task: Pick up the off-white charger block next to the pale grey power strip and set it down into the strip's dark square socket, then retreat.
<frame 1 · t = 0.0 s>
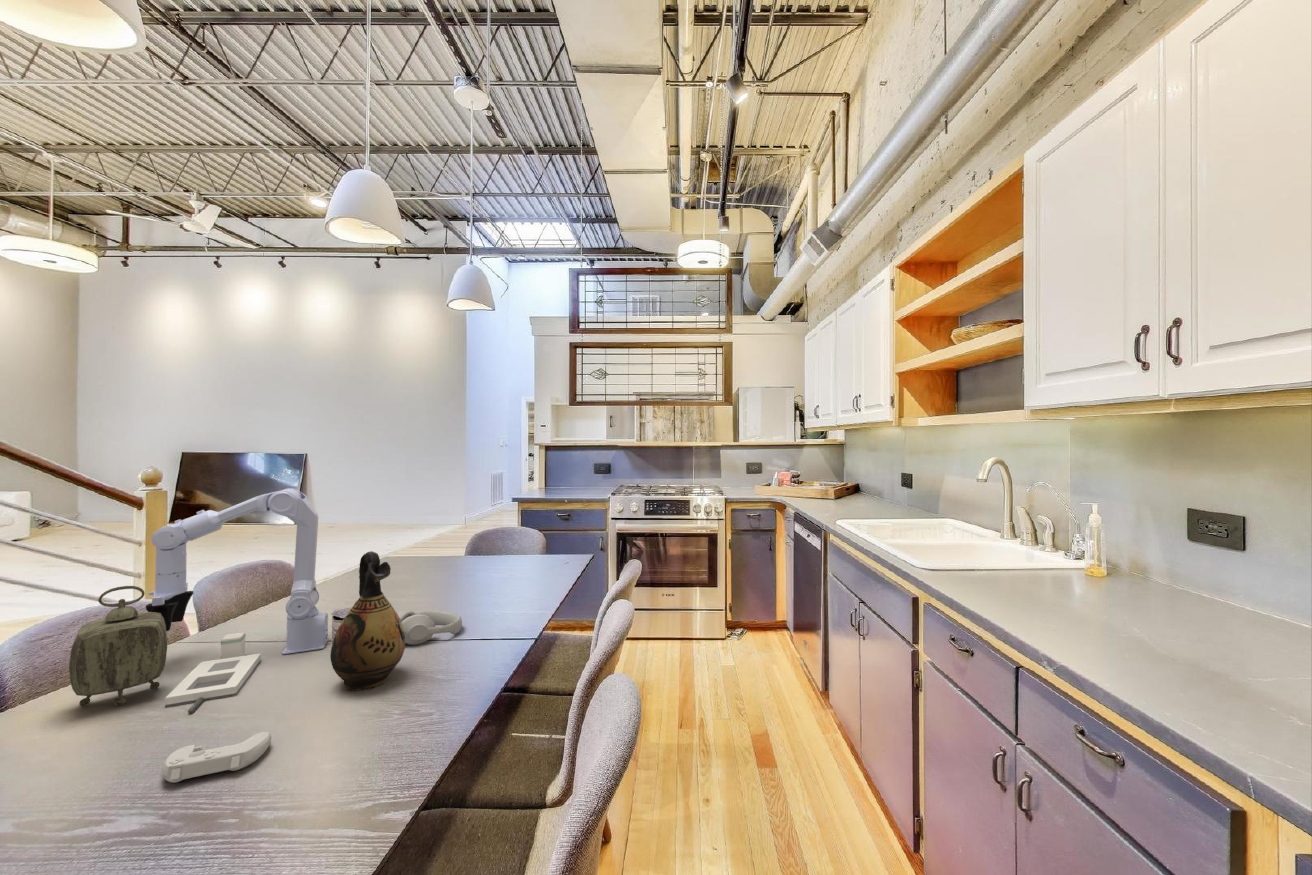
hand: (170, 626, 128), 10 cm above the table, fingers open, 7 cm apart
headphones: (425, 635, 150), on the table
charger block: (233, 658, 133), on the table
ceramic jug: (367, 680, 121), on the table
tabletop clock: (120, 702, 110), on the table
grey angular piece: (356, 655, 135), on the table
power strip: (217, 681, 120), on the table
game controller: (216, 768, 88), on the table
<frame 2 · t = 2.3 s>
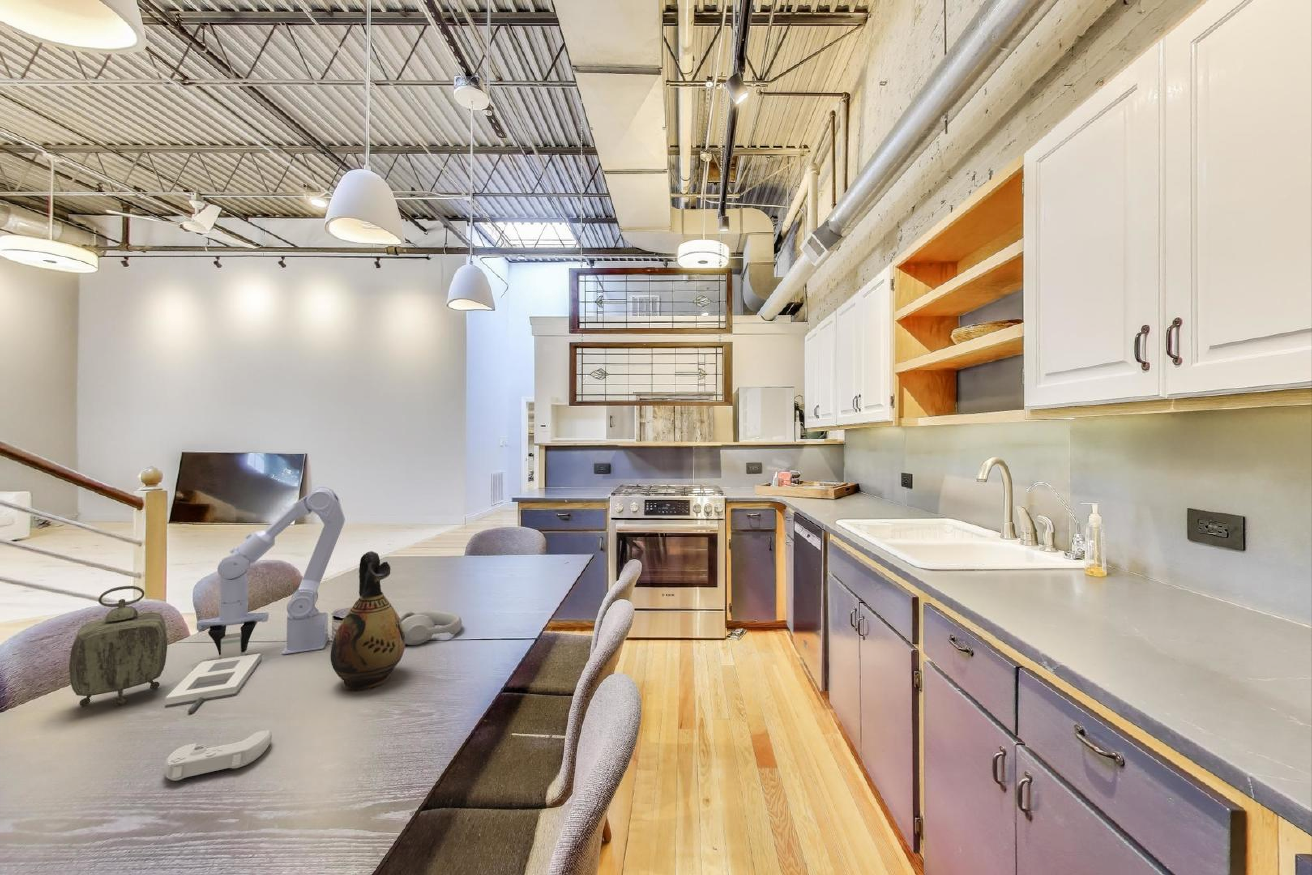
hand: (233, 652, 133), 2 cm above the table, fingers closed on charger block, 4 cm apart
charger block: (233, 658, 133), on the table, touching gripper
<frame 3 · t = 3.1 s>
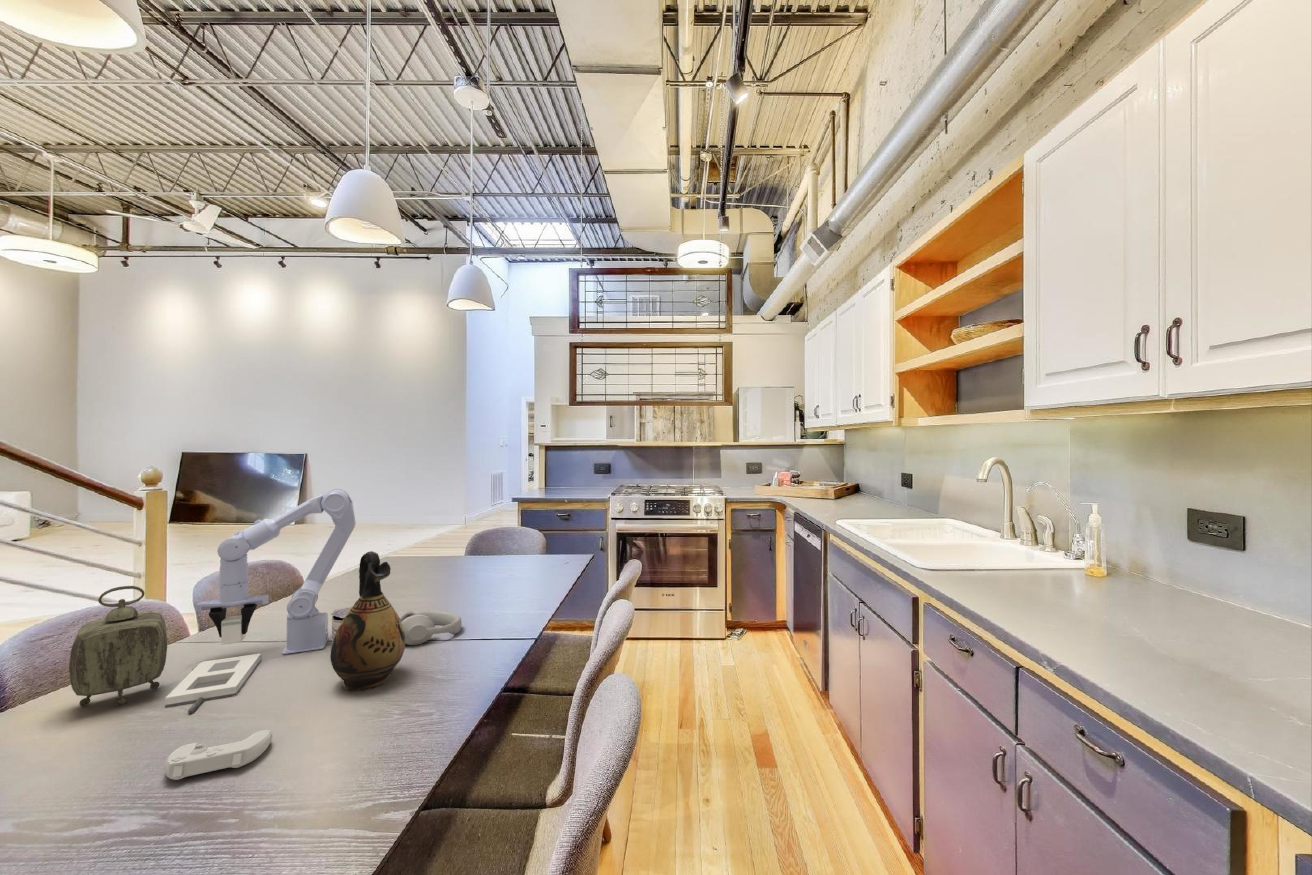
hand: (233, 634, 133), 6 cm above the table, fingers closed on charger block, 4 cm apart
charger block: (233, 640, 133), point 5 cm above the table, touching gripper
everything else where it was.
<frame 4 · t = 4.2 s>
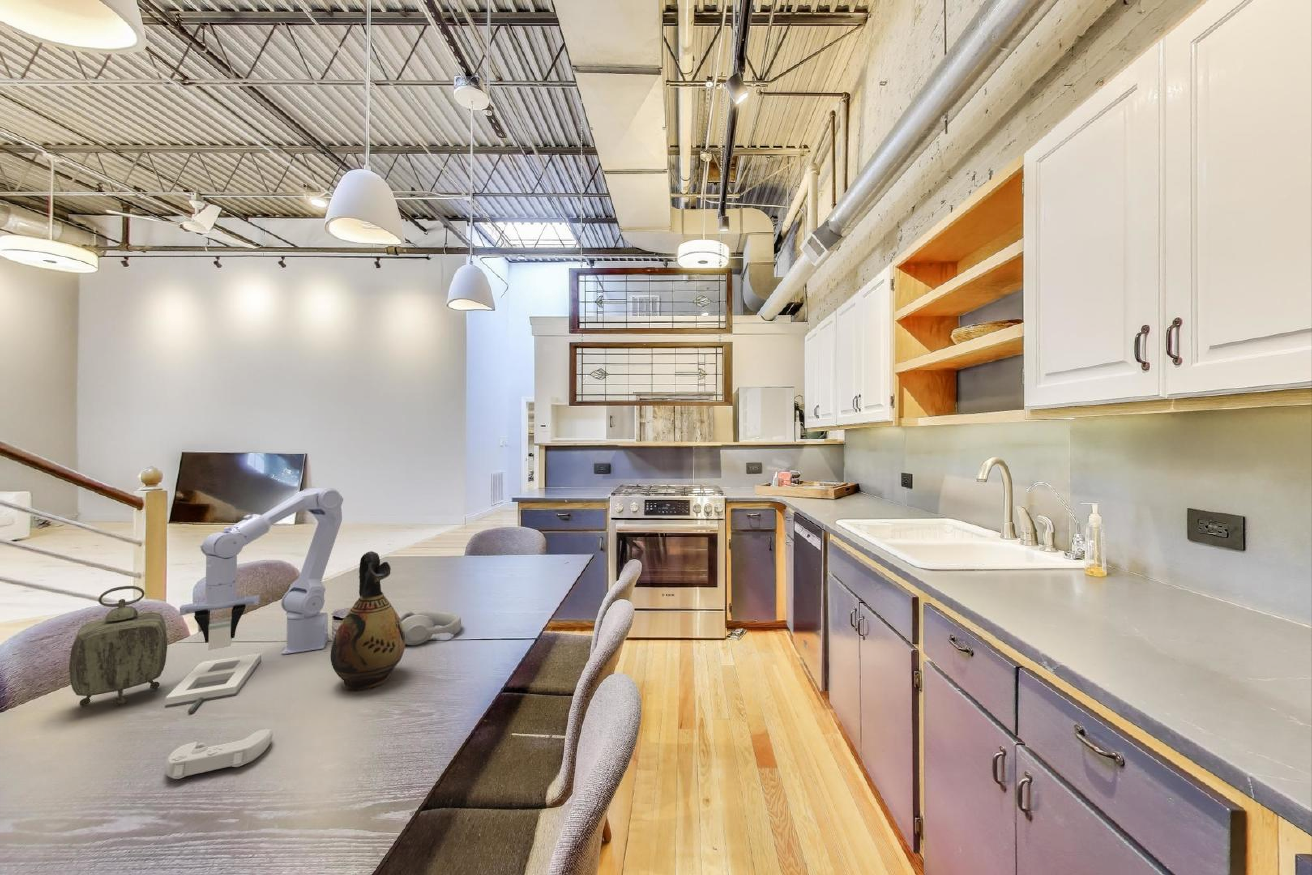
hand: (220, 639, 123), 9 cm above the table, fingers closed on charger block, 4 cm apart
charger block: (220, 645, 123), point 7 cm above the table, touching gripper
everything else where it was.
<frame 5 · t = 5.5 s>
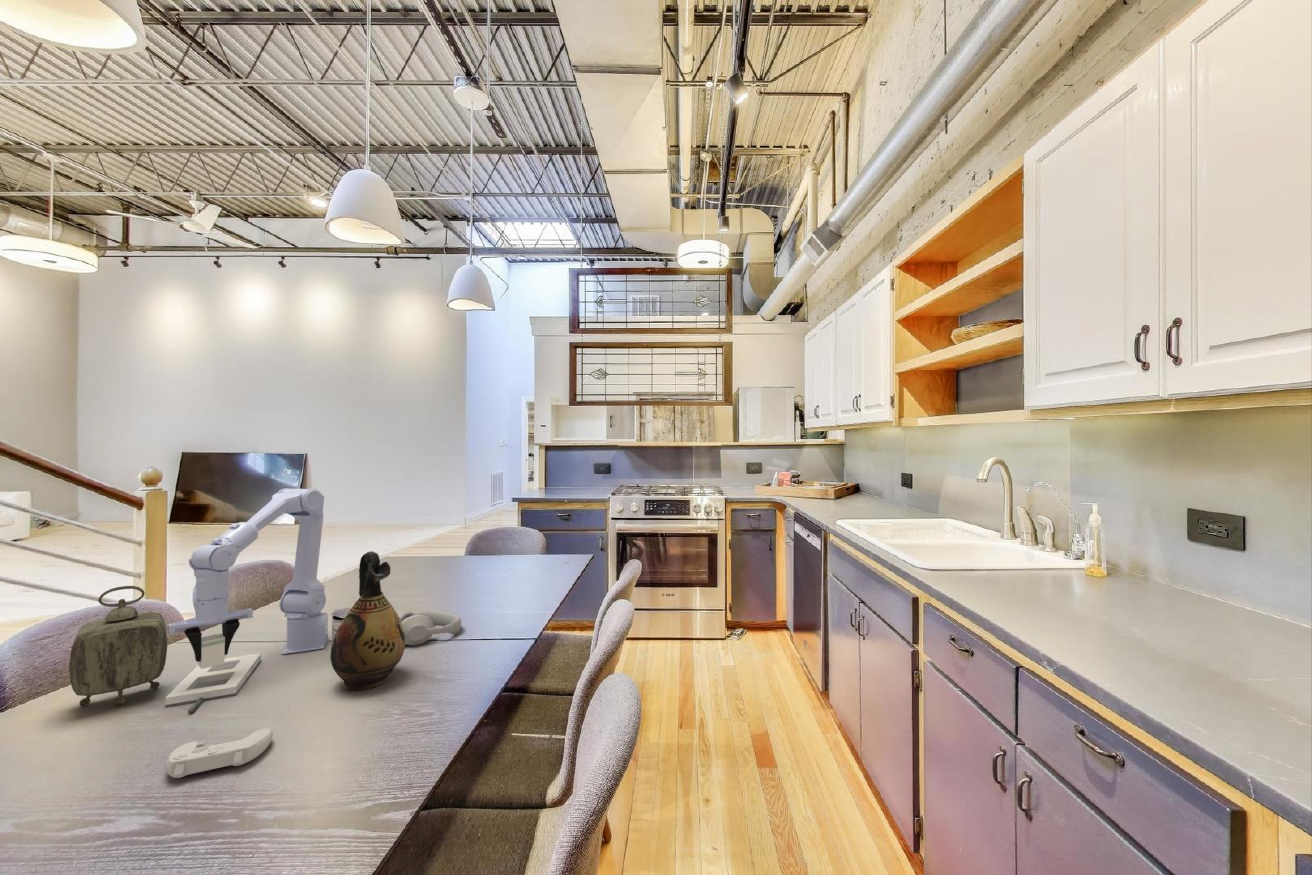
hand: (211, 656, 116), 7 cm above the table, fingers closed on charger block, 4 cm apart
charger block: (211, 663, 116), point 6 cm above the table, touching gripper
when the fingers open (4 cm above the table, at t = 6.6 s): charger block drops 2 cm, resting on power strip.
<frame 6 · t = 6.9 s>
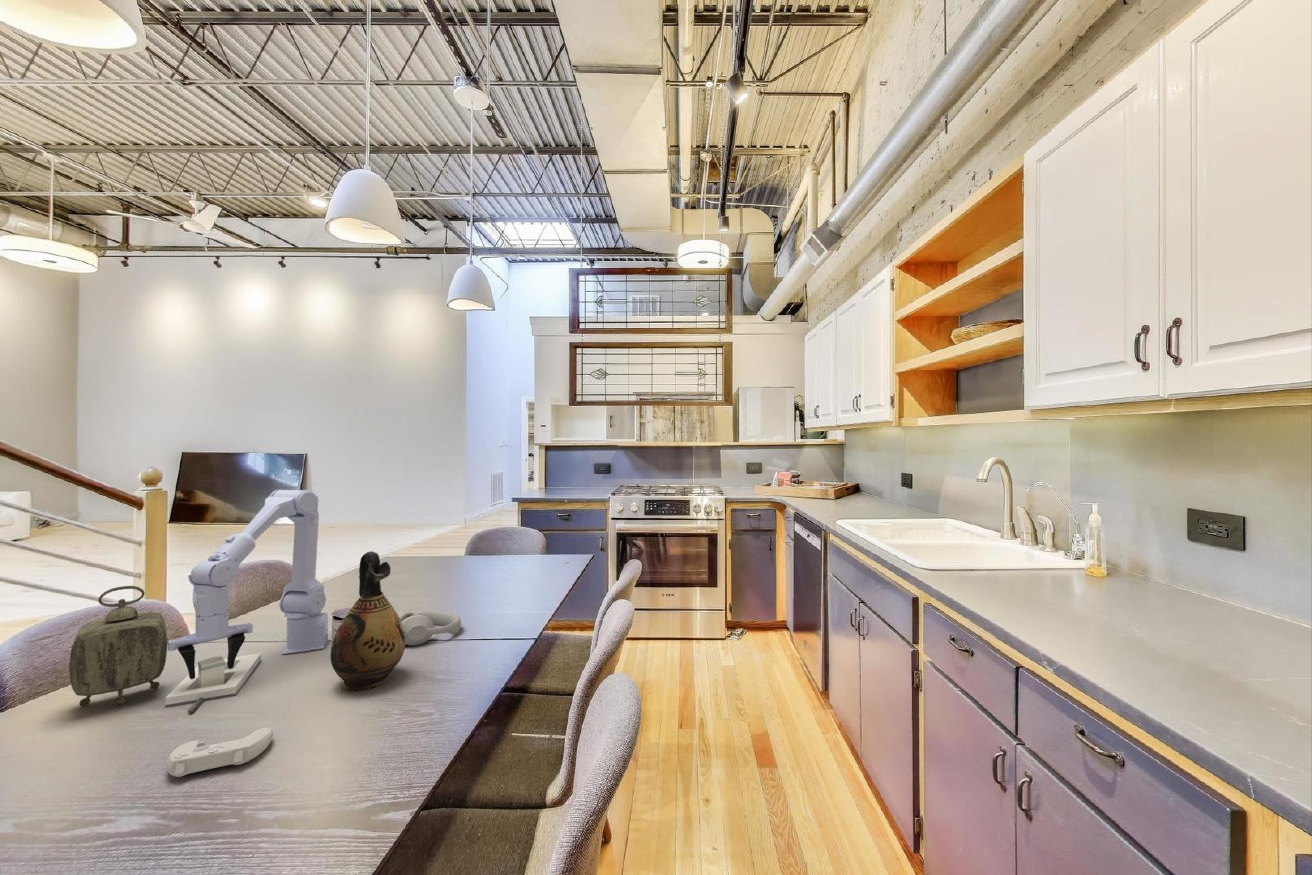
hand: (211, 672, 116), 4 cm above the table, fingers open, 6 cm apart
charger block: (211, 686, 116), resting on power strip
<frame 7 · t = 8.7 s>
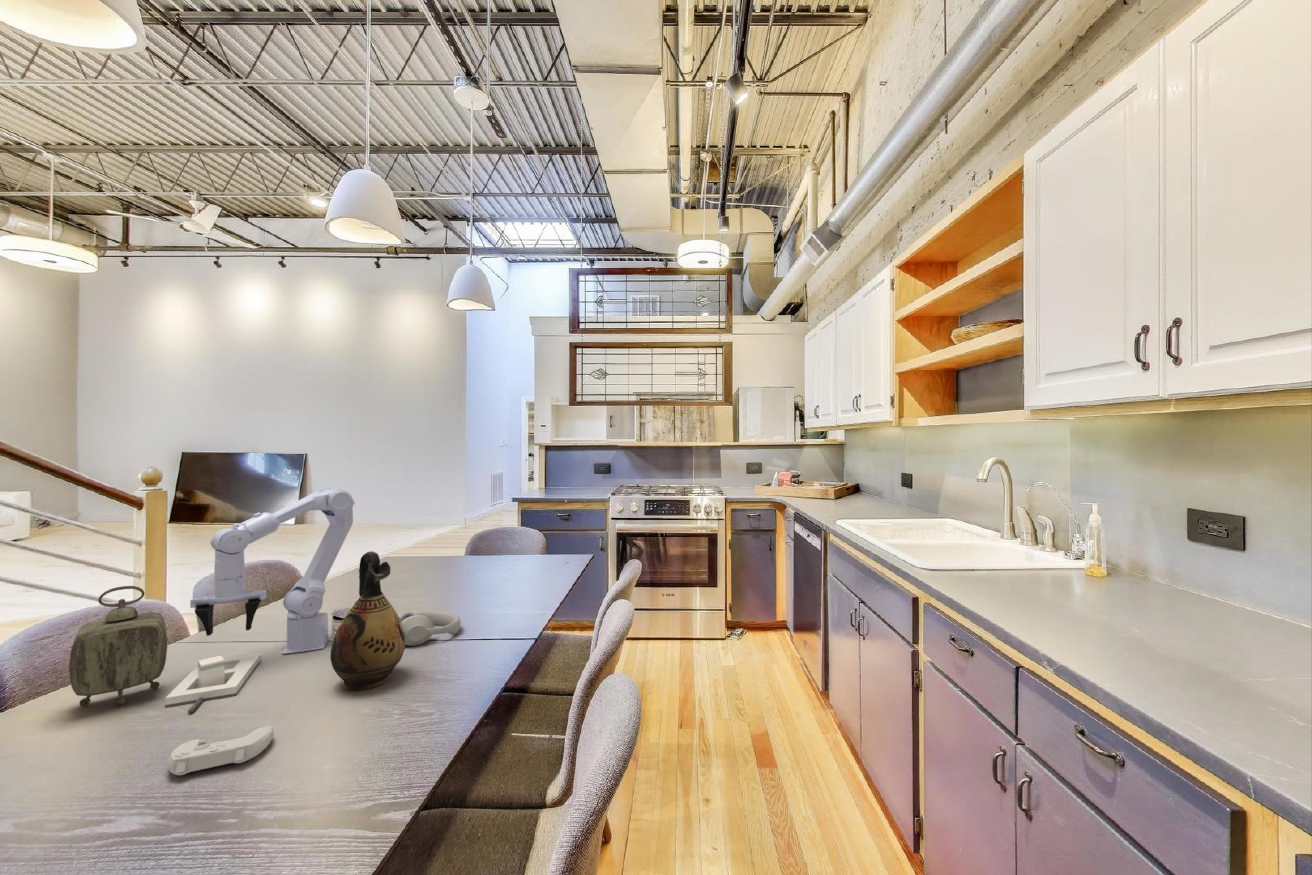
hand: (229, 631, 127), 9 cm above the table, fingers open, 7 cm apart
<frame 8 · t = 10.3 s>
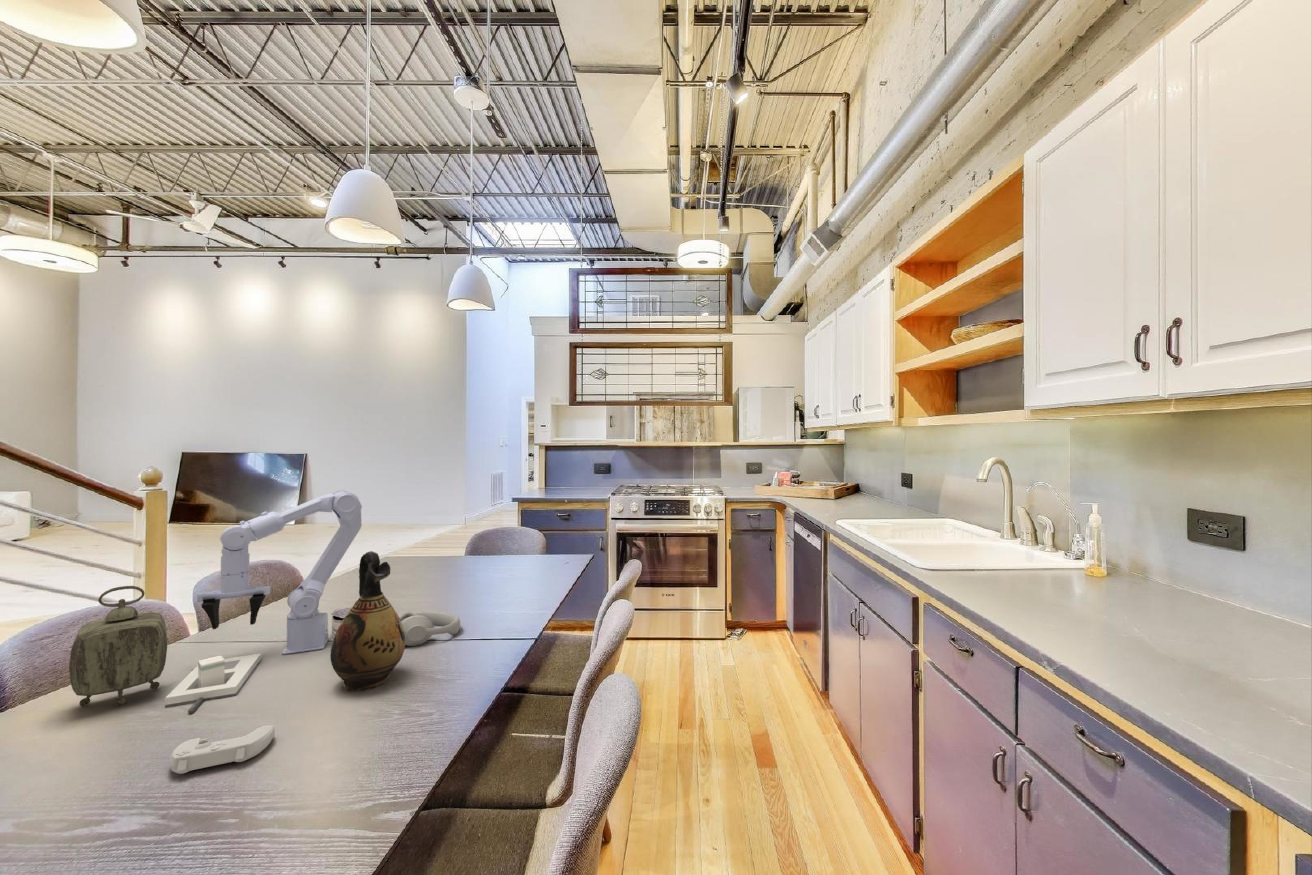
hand: (234, 625, 131), 9 cm above the table, fingers open, 7 cm apart
at the end: charger block 0.4 cm from the target spot on the power strip, point 0.5 cm above the power strip's base; charger block tilted 0°; the gripper is holding nothing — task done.
